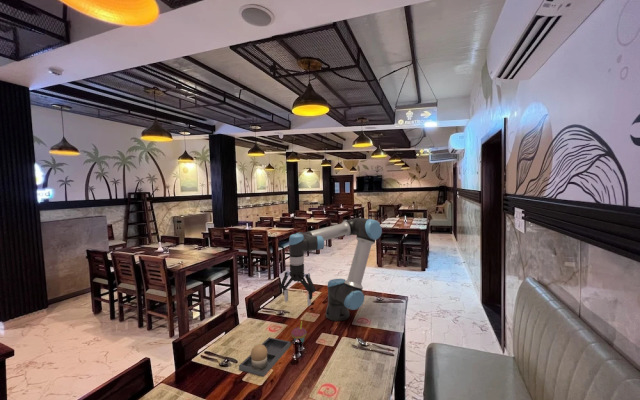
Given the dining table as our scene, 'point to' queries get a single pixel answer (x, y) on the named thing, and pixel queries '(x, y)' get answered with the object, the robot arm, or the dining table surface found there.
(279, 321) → the dining table surface
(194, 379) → the dining table surface
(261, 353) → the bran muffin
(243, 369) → the dark grey tray
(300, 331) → the cupcake
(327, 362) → the dining table surface
